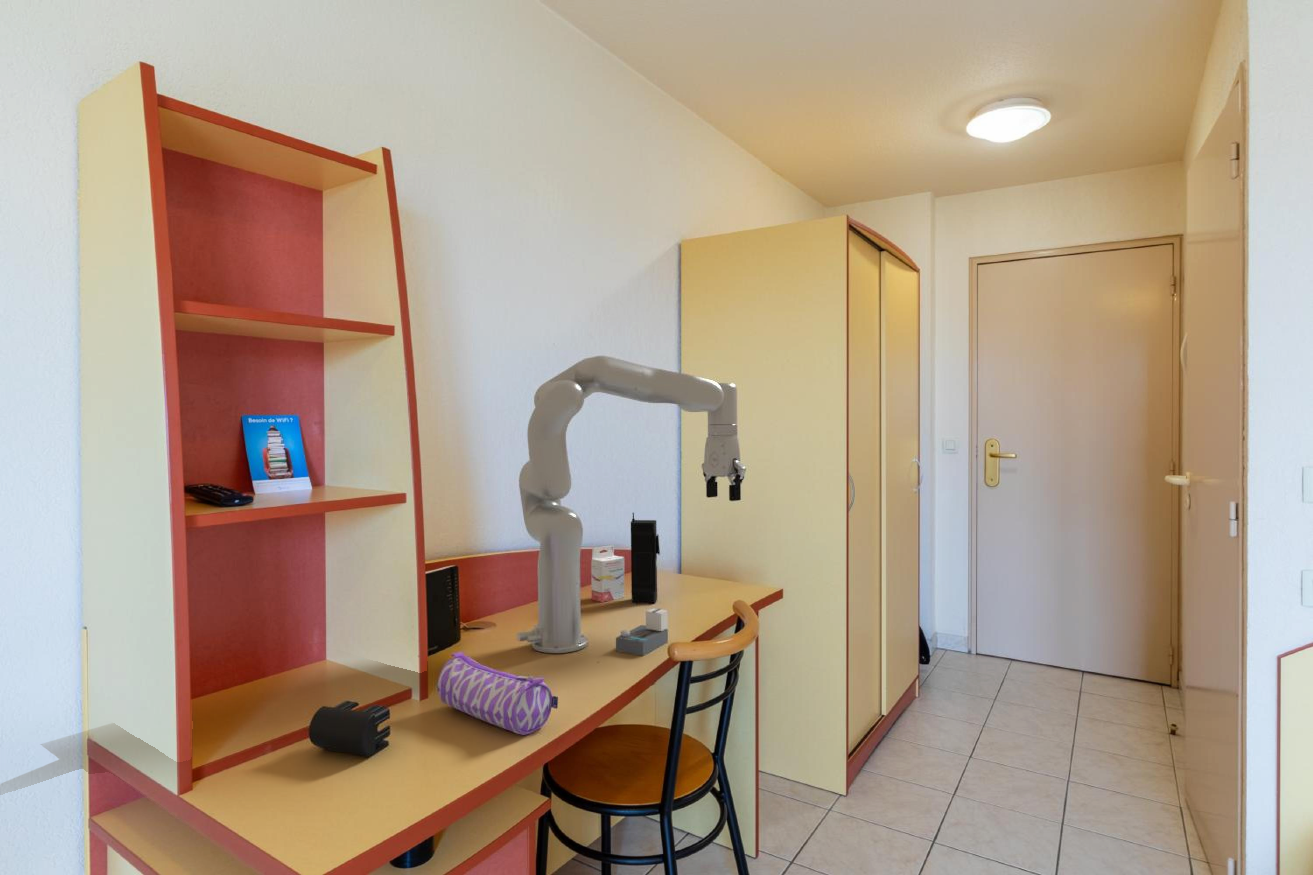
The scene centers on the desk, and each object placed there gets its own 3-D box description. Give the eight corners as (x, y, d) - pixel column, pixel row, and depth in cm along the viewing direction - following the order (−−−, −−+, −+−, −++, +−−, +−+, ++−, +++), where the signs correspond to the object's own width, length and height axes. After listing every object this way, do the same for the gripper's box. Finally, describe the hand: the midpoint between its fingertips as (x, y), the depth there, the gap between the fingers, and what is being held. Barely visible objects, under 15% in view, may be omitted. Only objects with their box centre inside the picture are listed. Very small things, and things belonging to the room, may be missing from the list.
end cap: (308, 756, 111) (307, 713, 111) (341, 737, 118) (340, 696, 118) (361, 765, 108) (360, 721, 108) (392, 745, 115) (392, 703, 115)
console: (643, 655, 156) (643, 637, 156) (616, 650, 160) (615, 633, 160) (667, 641, 166) (667, 624, 166) (641, 637, 169) (641, 620, 169)
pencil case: (560, 724, 122) (559, 669, 122) (520, 745, 114) (519, 686, 114) (471, 697, 135) (470, 646, 134) (430, 714, 127) (429, 660, 127)
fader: (661, 631, 163) (660, 612, 163) (645, 628, 165) (645, 610, 165) (667, 627, 166) (667, 609, 166) (652, 625, 168) (652, 607, 168)
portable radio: (661, 598, 206) (660, 511, 205) (659, 604, 200) (658, 513, 199) (633, 598, 206) (632, 510, 206) (630, 603, 200) (629, 513, 200)
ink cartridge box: (602, 603, 201) (601, 550, 201) (591, 599, 205) (590, 548, 205) (625, 597, 207) (624, 546, 207) (614, 594, 211) (613, 544, 210)
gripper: (691, 431, 189) (691, 496, 190) (731, 432, 174) (732, 503, 175) (714, 430, 193) (715, 494, 194) (755, 431, 178) (756, 500, 179)
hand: (723, 498), depth 184 cm, fingers open, 9 cm apart
